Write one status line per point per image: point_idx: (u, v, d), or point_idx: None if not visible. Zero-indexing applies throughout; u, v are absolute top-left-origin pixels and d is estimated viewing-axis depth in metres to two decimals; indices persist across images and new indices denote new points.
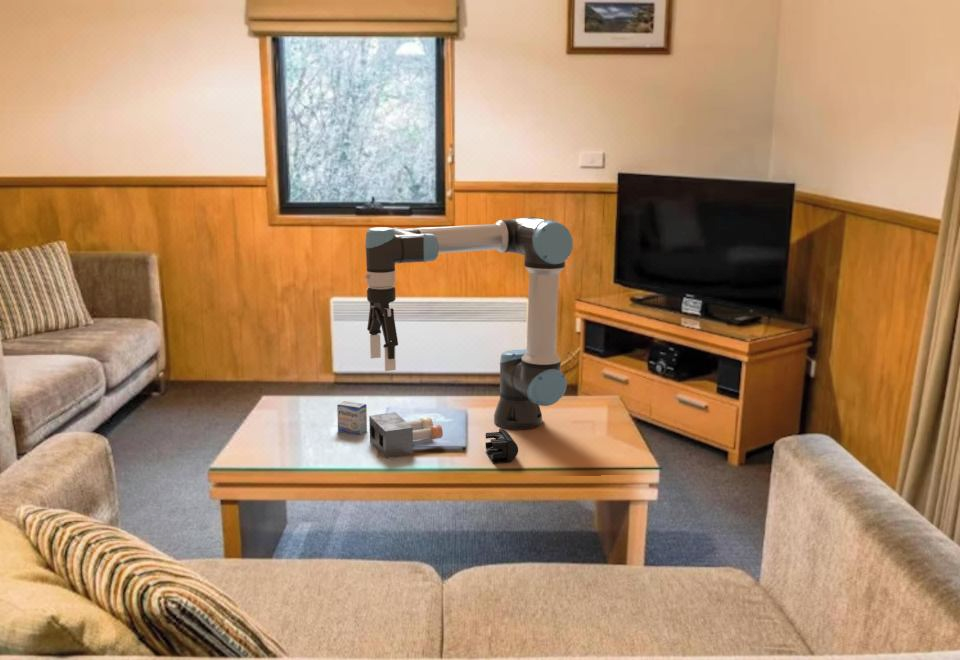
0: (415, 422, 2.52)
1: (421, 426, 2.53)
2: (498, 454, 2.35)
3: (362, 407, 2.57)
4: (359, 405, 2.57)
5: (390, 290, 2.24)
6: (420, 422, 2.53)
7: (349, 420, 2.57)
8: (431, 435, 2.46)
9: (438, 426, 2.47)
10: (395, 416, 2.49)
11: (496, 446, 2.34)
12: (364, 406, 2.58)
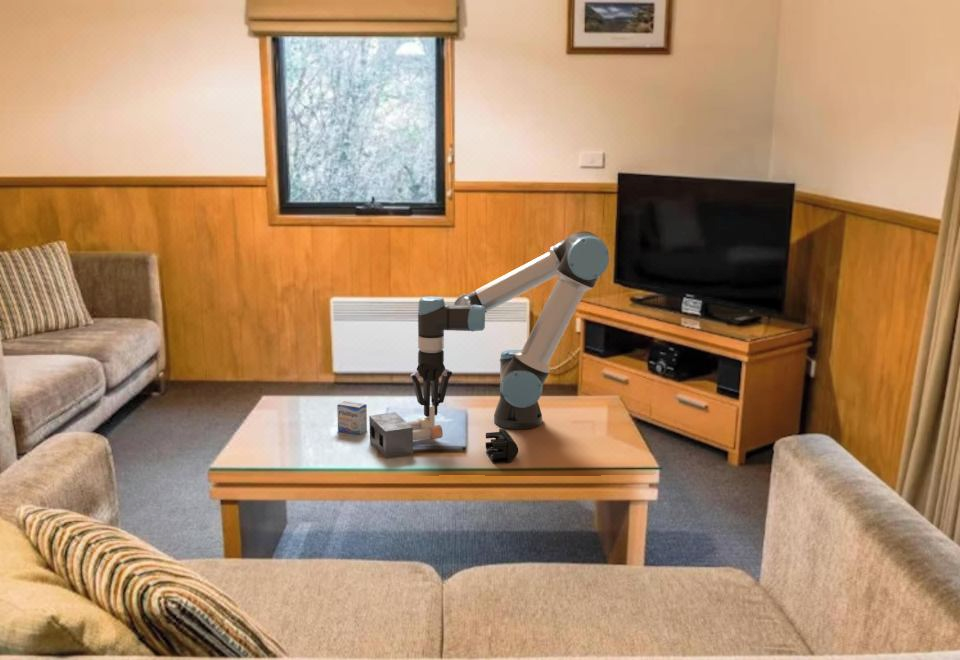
0: (413, 422, 2.52)
1: (419, 426, 2.52)
2: (498, 454, 2.35)
3: (362, 407, 2.57)
4: (359, 405, 2.57)
5: (422, 353, 2.48)
6: (418, 422, 2.52)
7: (350, 420, 2.57)
8: (431, 435, 2.46)
9: (438, 426, 2.47)
10: (395, 416, 2.49)
11: (496, 446, 2.34)
12: (364, 406, 2.58)
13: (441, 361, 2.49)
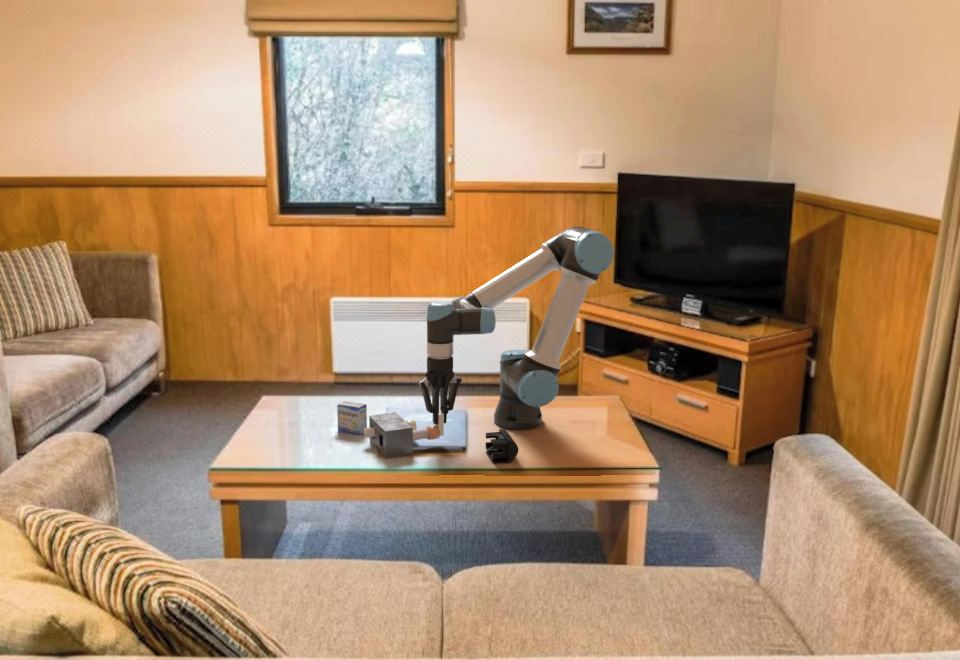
0: None
1: None
2: (498, 454, 2.35)
3: (362, 407, 2.57)
4: (359, 405, 2.57)
5: (431, 360, 2.41)
6: None
7: (349, 420, 2.57)
8: (428, 435, 2.46)
9: (435, 426, 2.47)
10: (395, 416, 2.49)
11: (496, 446, 2.34)
12: (364, 406, 2.58)
13: (450, 368, 2.42)
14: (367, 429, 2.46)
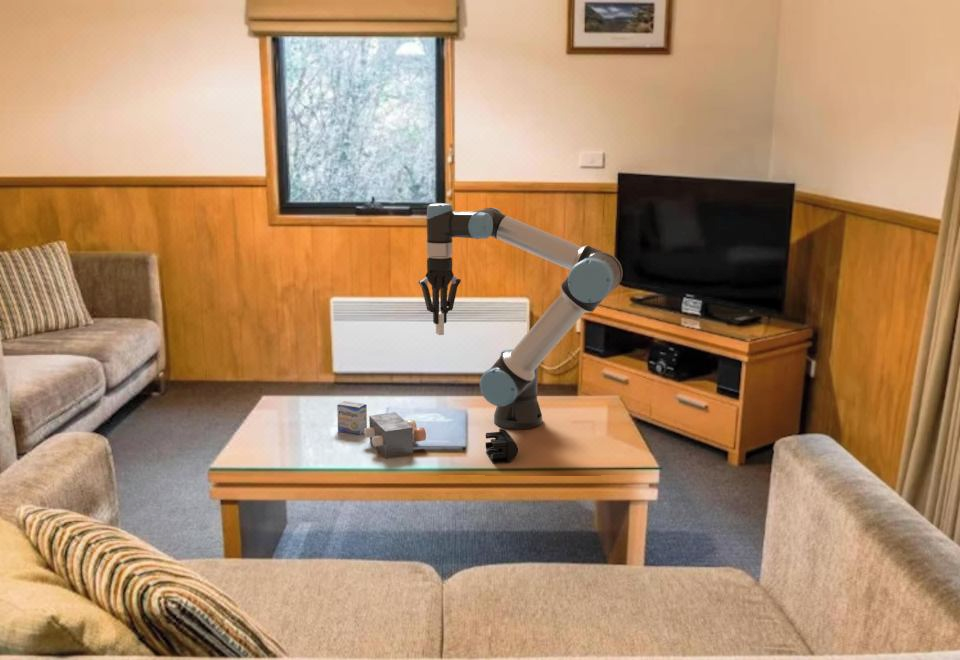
0: None
1: None
2: (498, 454, 2.35)
3: (362, 407, 2.57)
4: (359, 405, 2.57)
5: (431, 259, 2.50)
6: None
7: (350, 420, 2.57)
8: (414, 438, 2.44)
9: (421, 428, 2.45)
10: (395, 416, 2.49)
11: (496, 446, 2.34)
12: (364, 406, 2.58)
13: (450, 267, 2.52)
14: (367, 429, 2.46)
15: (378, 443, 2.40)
